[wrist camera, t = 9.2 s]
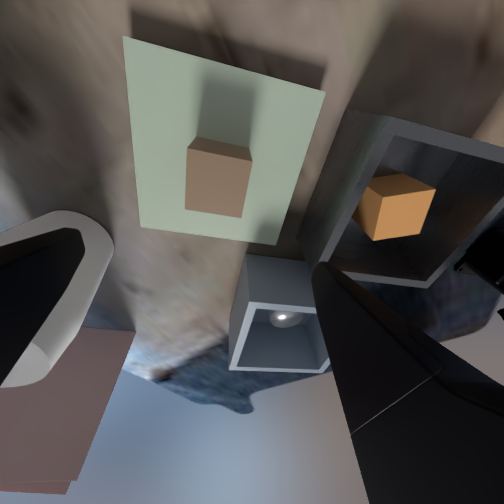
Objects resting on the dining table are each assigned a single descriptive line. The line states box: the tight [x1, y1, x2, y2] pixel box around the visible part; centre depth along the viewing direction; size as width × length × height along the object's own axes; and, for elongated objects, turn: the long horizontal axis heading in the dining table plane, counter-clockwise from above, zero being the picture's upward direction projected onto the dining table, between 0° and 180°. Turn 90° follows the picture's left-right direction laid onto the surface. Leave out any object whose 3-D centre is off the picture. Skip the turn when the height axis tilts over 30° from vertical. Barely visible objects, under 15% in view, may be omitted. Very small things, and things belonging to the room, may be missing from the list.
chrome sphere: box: [268, 309, 303, 328], centre depth 28 cm, size 4×4×3 cm
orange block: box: [353, 173, 436, 241], centre depth 20 cm, size 4×4×4 cm
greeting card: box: [0, 327, 136, 495], centre depth 25 cm, size 11×7×15 cm, turn 39°
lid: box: [123, 36, 326, 246], centre depth 17 cm, size 13×13×6 cm
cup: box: [0, 210, 114, 388], centre depth 17 cm, size 9×9×12 cm
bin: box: [229, 254, 330, 373], centre depth 26 cm, size 12×12×7 cm
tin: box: [296, 109, 504, 288], centre depth 19 cm, size 12×12×6 cm
